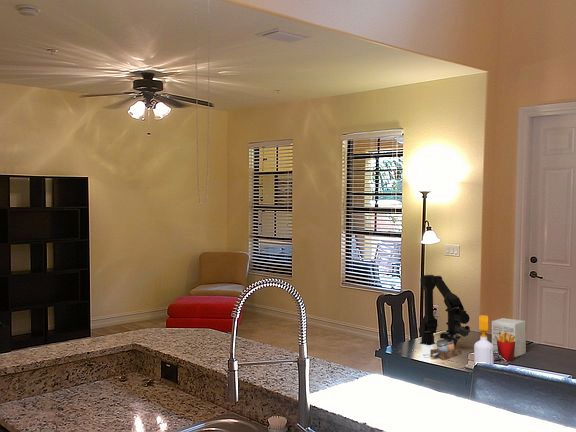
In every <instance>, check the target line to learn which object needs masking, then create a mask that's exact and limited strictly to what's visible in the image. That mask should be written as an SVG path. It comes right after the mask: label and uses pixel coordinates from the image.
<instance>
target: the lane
mask: <svg viewBox="0 0 576 432" xmlns="http://www.w3.org/2000/svg"><path fill="white" fill-rule="evenodd" d="M435 349H436V350H438V348H435ZM429 354H430V355H429V356H430V358H433V359H436V358H437V357H436V355H435V356H432V354H435V350H434V349H430V353H429ZM460 355H462V348H459V347H458V348H455V350H453V351H450V352H447V353H445V352H444V351H440V357H439V360H443V361H444V360H449V359H452V358H454V357H458V356H460Z"/></svg>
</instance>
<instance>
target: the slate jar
mask: <svg viewBox="0 0 576 432" xmlns="http://www.w3.org/2000/svg"><path fill="white" fill-rule="evenodd" d="M435 345H436V346H437V347H436V349H438V350H441V351H446V353H447V352H449V348H448V342H447V340H443V339H439V340H437V341H436V342H435Z"/></svg>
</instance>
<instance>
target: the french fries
mask: <svg viewBox="0 0 576 432" xmlns="http://www.w3.org/2000/svg"><path fill="white" fill-rule="evenodd" d="M506 336H508V338H507V339H506ZM511 336H512V334H510V337H509V334H508V333H507V332H505V333H504V334H502V336H501V331H499V338H500V340H499V339H498V338H497V336H496V335H495V338H496V339H497V340H498V341H497V348H498V354H499V355H501V356H502V357H503V358H504V359H505V360H507V361H511V362H514V358H515V357H514V350H515V342H514V339H515V336H513V337H512V338H511ZM498 354H497V355H498Z"/></svg>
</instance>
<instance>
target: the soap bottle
mask: <svg viewBox="0 0 576 432" xmlns="http://www.w3.org/2000/svg"><path fill="white" fill-rule="evenodd" d="M478 318H479V319H478V320H479V321H478V323H479V324H478V326H479V327H478V329H479V330H478V331H479V332H480V333H481V335H479V338H480V339H479V340H478V341H476V342H475V343H474V345H473V349H474V350H473V354H474V355H473V357H474V358H473V359H474V360H473V363H476V362H487V363H494V355H495V354H493V344H492V342H490V341H489V340H488V335H486V334H487V333H488V332H489V316H488V315H484V314H483V315H482V314H481V315H479V316H478ZM494 364H495V363H494Z"/></svg>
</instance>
